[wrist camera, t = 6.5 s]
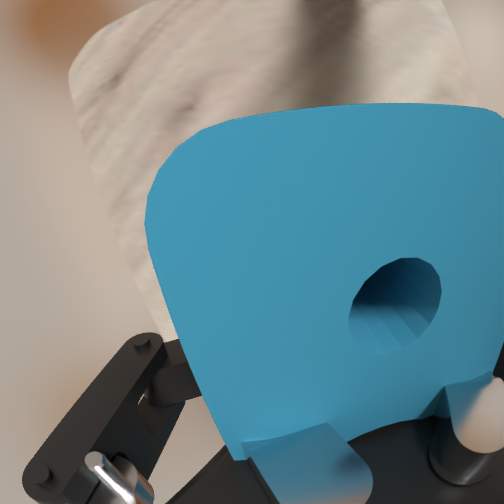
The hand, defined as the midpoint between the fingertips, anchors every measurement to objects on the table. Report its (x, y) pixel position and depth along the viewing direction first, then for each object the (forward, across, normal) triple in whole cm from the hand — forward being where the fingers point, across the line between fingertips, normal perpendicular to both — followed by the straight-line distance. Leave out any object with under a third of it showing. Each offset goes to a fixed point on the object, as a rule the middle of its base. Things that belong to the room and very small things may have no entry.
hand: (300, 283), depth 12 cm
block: (+12, 0, 0) cm, 12 cm away
